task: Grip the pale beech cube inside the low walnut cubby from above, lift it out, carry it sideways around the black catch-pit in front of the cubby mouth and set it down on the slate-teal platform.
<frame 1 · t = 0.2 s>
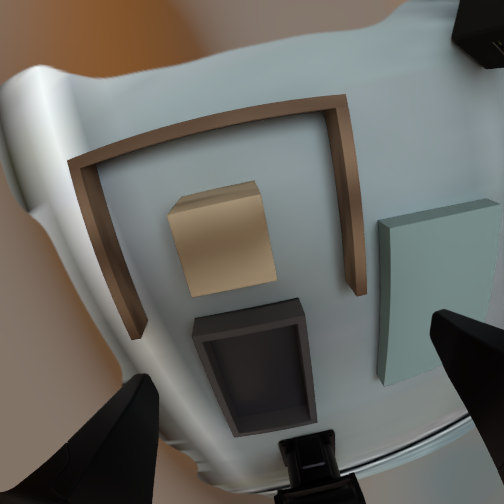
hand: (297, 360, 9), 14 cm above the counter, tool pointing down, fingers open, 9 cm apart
cubby: (225, 223, 21), on the counter
electronic device: (473, 18, 16), on the counter
beech cube: (224, 234, 19), in the cubby
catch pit: (261, 369, 26), on the counter
platform: (436, 292, 25), on the counter
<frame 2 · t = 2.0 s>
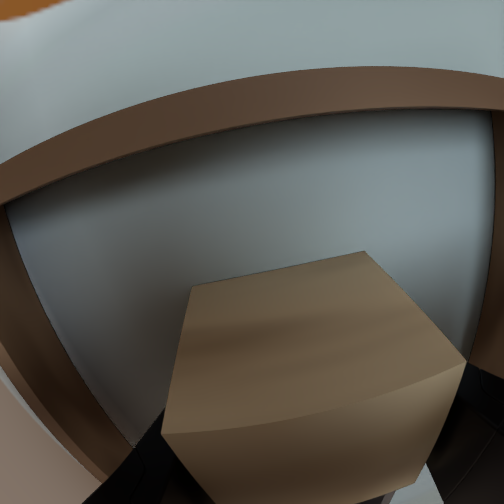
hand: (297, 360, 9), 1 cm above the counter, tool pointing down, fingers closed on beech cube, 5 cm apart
cubby: (291, 339, 10), on the counter
beech cube: (306, 396, 7), in the cubby, touching gripper
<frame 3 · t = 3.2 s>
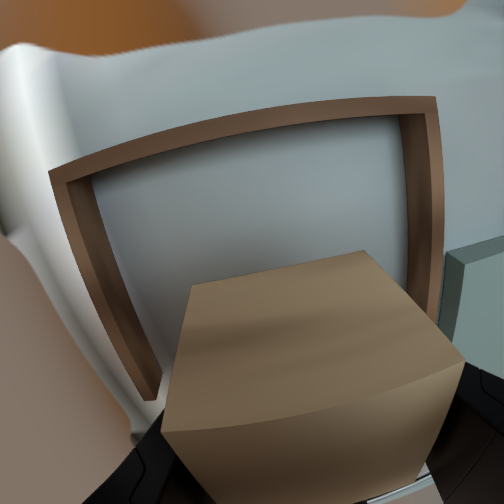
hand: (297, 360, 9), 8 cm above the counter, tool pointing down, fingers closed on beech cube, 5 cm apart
cubby: (269, 259, 16), on the counter
beech cube: (306, 395, 7), point 9 cm above the counter, touching gripper
platform: (488, 326, 19), on the counter
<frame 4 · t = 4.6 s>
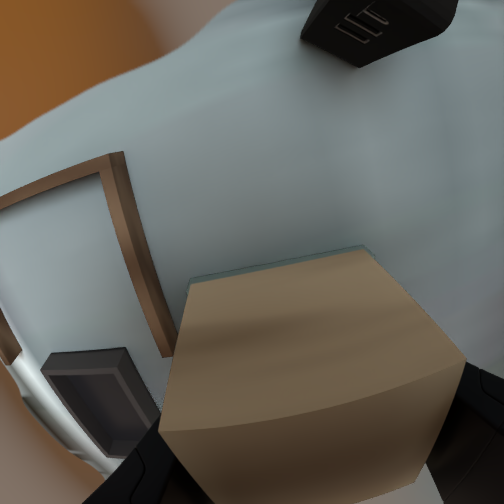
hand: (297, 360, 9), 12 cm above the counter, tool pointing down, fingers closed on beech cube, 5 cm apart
cubby: (51, 278, 20), on the counter
electronic device: (351, 2, 15), on the counter
beech cube: (306, 394, 7), point 14 cm above the counter, touching gripper
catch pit: (116, 403, 25), on the counter
platform: (292, 353, 24), on the counter
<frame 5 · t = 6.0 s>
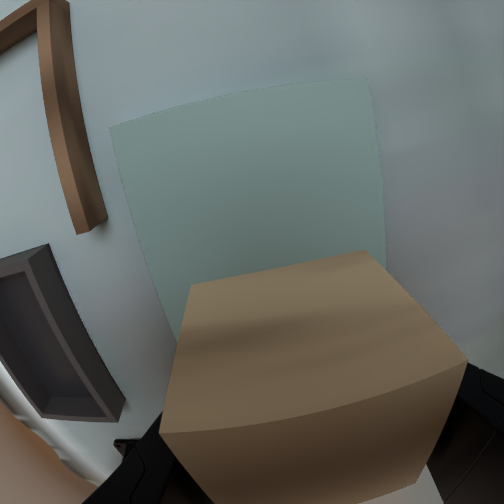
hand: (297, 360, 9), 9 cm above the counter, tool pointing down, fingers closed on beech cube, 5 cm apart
beech cube: (306, 395, 7), point 10 cm above the counter, touching gripper
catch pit: (46, 337, 19), on the counter
platform: (267, 247, 17), on the counter
when the fingers open (4 cm above the counter, at t = 7.1 s): beech cube drops 1 cm, resting on platform.
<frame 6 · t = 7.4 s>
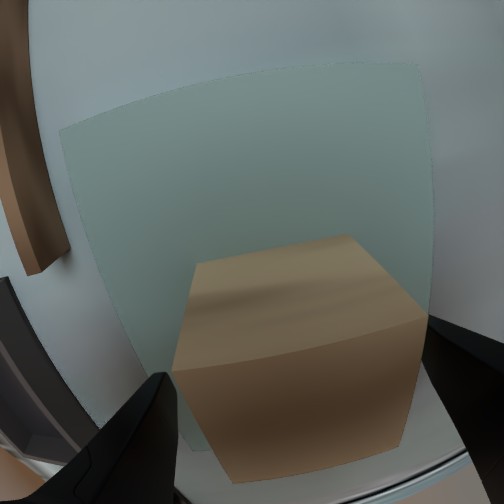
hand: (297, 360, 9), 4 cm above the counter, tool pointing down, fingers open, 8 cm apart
beech cube: (297, 359, 9), on the platform, point 4 cm above the counter
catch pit: (18, 377, 14), on the counter
platform: (278, 287, 13), on the counter
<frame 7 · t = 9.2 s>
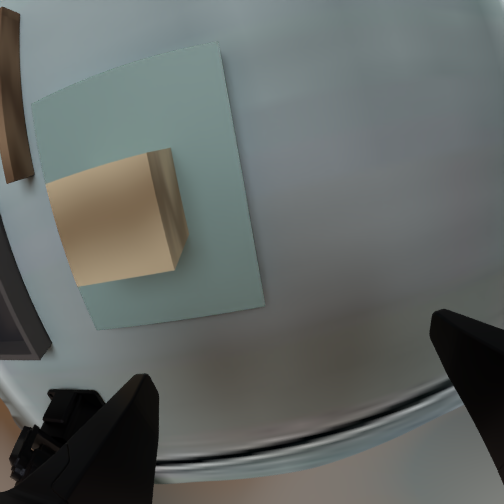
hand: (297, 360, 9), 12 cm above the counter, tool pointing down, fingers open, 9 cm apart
beech cube: (123, 211, 14), on the platform, point 4 cm above the counter
platform: (147, 194, 19), on the counter
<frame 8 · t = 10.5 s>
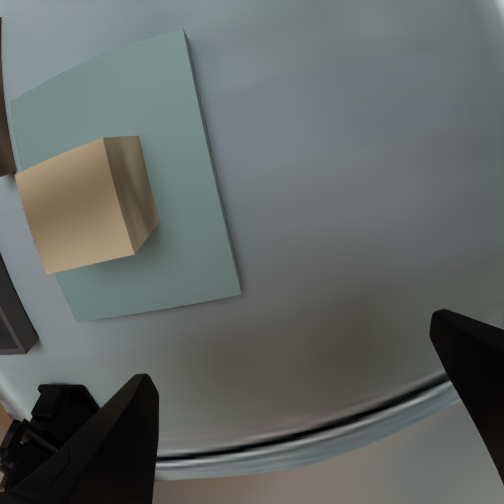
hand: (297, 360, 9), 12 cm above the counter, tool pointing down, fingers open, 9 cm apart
beech cube: (91, 199, 14), on the platform, point 4 cm above the counter
platform: (121, 184, 18), on the counter
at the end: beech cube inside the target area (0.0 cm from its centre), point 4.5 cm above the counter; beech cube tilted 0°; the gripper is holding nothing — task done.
